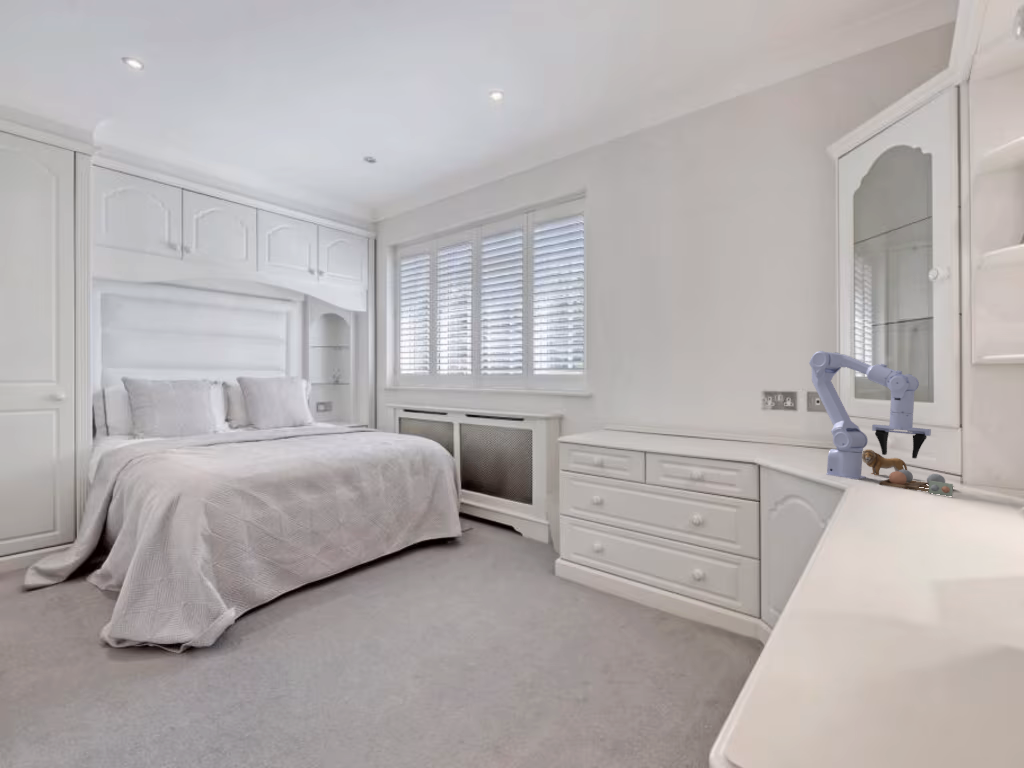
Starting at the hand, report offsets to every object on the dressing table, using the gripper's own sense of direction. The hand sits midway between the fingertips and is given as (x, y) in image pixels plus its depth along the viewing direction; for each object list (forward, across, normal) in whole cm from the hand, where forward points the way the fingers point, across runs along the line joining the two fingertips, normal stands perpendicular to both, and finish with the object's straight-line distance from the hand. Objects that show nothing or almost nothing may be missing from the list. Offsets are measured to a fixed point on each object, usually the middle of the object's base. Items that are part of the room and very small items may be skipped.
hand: (899, 456), depth 159 cm
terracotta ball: (+9, 0, 0) cm, 9 cm away
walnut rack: (+9, +4, +4) cm, 11 cm away
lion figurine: (+10, -8, +19) cm, 22 cm away
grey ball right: (+9, +8, +7) cm, 14 cm away
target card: (+9, +11, -6) cm, 16 cm away
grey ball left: (+9, 0, +7) cm, 12 cm away
